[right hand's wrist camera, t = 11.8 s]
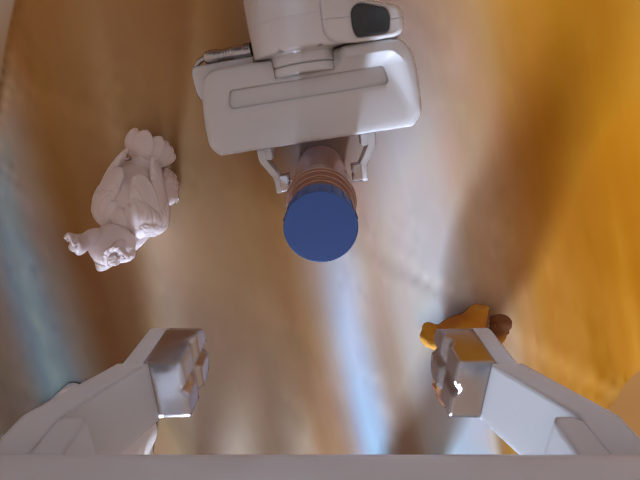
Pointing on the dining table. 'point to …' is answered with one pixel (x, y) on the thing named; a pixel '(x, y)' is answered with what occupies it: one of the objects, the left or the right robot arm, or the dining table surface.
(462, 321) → the toy
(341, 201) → the cap
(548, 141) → the dining table surface
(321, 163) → the bottle
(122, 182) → the figurine
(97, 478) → the right robot arm
